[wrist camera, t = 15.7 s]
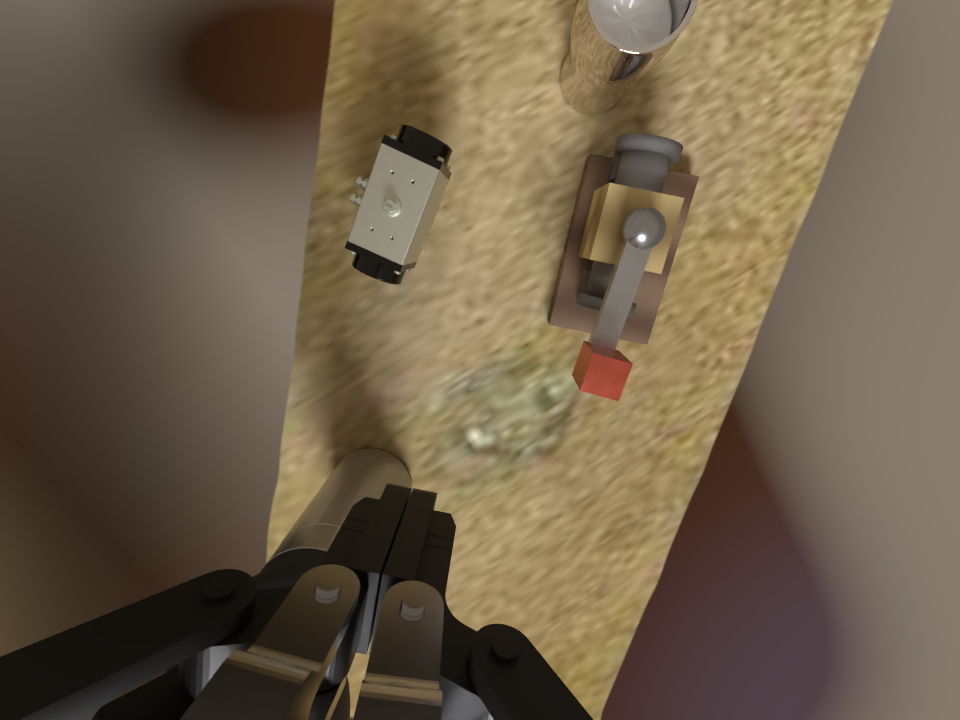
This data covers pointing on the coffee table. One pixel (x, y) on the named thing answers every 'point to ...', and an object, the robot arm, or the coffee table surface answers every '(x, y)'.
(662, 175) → the valve pipe
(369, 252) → the pneumatic valve
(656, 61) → the beer glass
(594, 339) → the valve lever
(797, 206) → the coffee table surface
